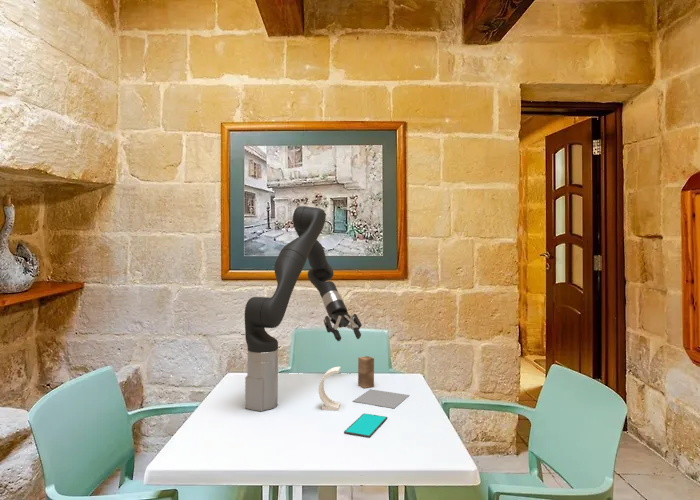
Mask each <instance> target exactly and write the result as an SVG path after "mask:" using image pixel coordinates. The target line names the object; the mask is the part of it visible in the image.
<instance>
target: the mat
mask: <svg viewBox="0 0 700 500" xmlns="http://www.w3.org/2000/svg"><path fill="white" fill-rule="evenodd" d="M409 396H410V394H404V393H399V392H398V393H397V392H390V391H384V390H379V389H371V388H369V389H368V390H367V391H365V392H364V393H362V394H361V395H359V396H357V398H355V399H354V400H352V402H353V403H359V404H363V405H364V404H365V405H371V406H376V407H383V408H387V409H396V408H397V407H398V406H400V404H402V403H403V402H404V401H405V400H406V399H407V398H409Z"/></svg>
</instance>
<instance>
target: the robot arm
mask: <svg viewBox="0 0 700 500" xmlns="http://www.w3.org/2000/svg"><path fill="white" fill-rule="evenodd" d="M326 215H327V214H326V212H325V210H324V209H322V208H319V207H313V206H305V205H300V206H297V207H296V208H295V210H294V211H293V215H292V224H293V227H294V229H295V232H296V235H297V236H298V237H296V238H295V239H294V240H291V241H289V242H288V243H287V244H285V245H284V247H282V248H281V250H280V252H279V253H278V256H277V258H276V260H275V262H274V266H273V270H274V275H275V279H276V282H277V283H276V285H277V286H276V288H275V290H274V291H275V292H274V293H273V295H272V296H271V297H267V296H266V297H265V296H253V297H250V298H249V299H248V300H247V302H246V304H245V308H244V333H245V342H246V345H247V356H246V357H247V362H246V363H247V365H246V367H247V369H246V371H247V375H246V376H245V378H244V379H245V381H244V383H245V386H244V387H245V389H244V391H245V393H244V398H245V402H244V408H245V409H248V410H252V411H253V410H254V411H258V412H263V411H267V410H271V409H274V408H277V406H278V403H279V400H278V396H279V393H278V392H279V389H278V388H279V386H278V384H279V383H278V382H279V376H278V375H279V341H278V340H277V338H275V337H274V336H272V335H270V334H269V333H268V332H267V331H266V329H275V328H278V327H279V326H280V325H281V323H282V321H283V319H284V317H285V314H286V311H287V310H288V309H287V308H288V305H289V303H290V299H291V296H292V293H293V291H294V288H295V286H296V284H297V282H298V280H299V278H300V275H301V274H302V271H303V269H304V267H305V264H306V262H307V261H308V264H309V266H310V269H309V270H308V271H307V278H308V280H309V282H310V283H311V285H313V286H314V287H315V288H316V290H317V292H318V293H319V295H320V297H321V299H322V302H323V303H322V304H323V306H324V307H325V310H326V312H327V315H326V316H325V317H324V319H323V323H324V327H325V329H326V332H327V333H332V334H333V337H334V339H335V340H336V341H337V342H341V340H342V336H341V333H340V332H339V329H338V328H340V329H341V328H348V329H350V330H352V331H353V333H354V335H355V338H356V339H357V340H359V339H360V338H361V337H362V333H361V331H360V328H361V327H362V326H363V325H362V322H361V321H360V319H359V317H358V315H357V314H356V313H353V314H352V315H350V314H349V313H348V312H349V311H348V308H347V307H346V305H345V302H344V300H343V297H342V296H341V294H340V292H339V291H338V289H337V286H336V284H335V283H334V282H333V281H330V280H332V279H333V277H334V273H335V272H334V269H333V268H332V266H331V264H329V262H328V260H327V256H326V252H325V249H324V246H323V245H322V244H321V242H320V241H319V240H318V238H319V236H320V235H321V233H322V231H323V229H324V226H325V225H326V221H327V219H326V217H327V216H326ZM332 324H333V326H332Z"/></svg>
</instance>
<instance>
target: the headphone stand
mask: <svg viewBox="0 0 700 500" xmlns="http://www.w3.org/2000/svg"><path fill="white" fill-rule="evenodd" d="M340 371H341V366H334V367H331V368H329V369H328V370H327V371H326V372H325V373H324V374H323V376H322V378H321V379H320V382H319V384H318V390H317V391H318V395H319V399H320V401H321V402H322V406H321V411H339V409H340V407H341V402H337V401H334V400H332V399H331V398H330V397H329V396H328V394H327V393H326V390H325V380H326V379H327V378H328V377H329V376H331V375H335V374H339V373H340Z"/></svg>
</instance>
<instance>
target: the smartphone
mask: <svg viewBox="0 0 700 500" xmlns="http://www.w3.org/2000/svg"><path fill="white" fill-rule="evenodd" d="M387 420H388V416H384V415H376V414H369V413H365V412H364V413H362V414H361V415H360V416H359V417H358V418H357V419H356V420H355V421H354V422H352V424H351V425H349V426H348V427H347V428H346V429H345V430H344V431H343V434H345V435H348V436H349V435H350V436H356V437H360V438H367V439H370V438H372V436H373V435H374V434H375V433H376V432H377V431H378V430H379V428H381V427H382V426H383V424H385V422H386V421H387Z"/></svg>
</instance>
